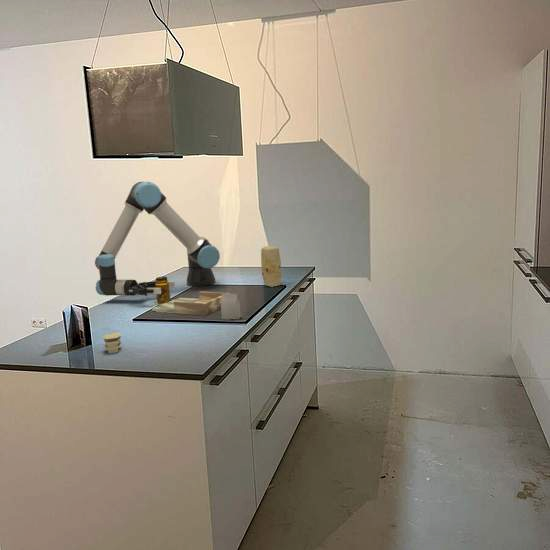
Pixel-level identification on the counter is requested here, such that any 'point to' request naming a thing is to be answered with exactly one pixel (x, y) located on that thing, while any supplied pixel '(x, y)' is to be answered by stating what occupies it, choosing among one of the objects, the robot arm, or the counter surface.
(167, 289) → the condiment
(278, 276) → the food model
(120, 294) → the robot arm
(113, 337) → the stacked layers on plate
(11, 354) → the counter surface
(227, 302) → the tea bag
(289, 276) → the counter surface
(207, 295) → the open-front wooden tray
